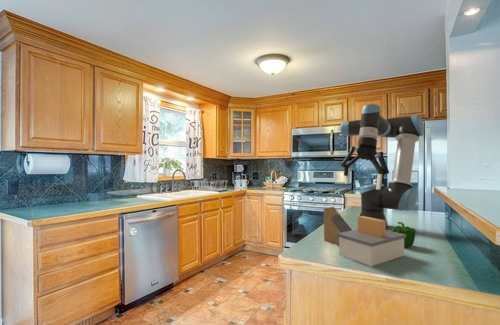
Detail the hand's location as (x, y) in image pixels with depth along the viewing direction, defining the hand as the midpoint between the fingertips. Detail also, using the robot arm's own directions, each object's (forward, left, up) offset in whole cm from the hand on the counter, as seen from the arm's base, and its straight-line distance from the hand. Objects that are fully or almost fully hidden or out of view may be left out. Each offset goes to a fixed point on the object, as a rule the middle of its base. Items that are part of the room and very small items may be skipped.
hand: (362, 186), depth 115 cm
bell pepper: (-16, +8, -26) cm, 32 cm away
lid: (+6, +8, -20) cm, 22 cm away
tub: (+6, +8, -26) cm, 28 cm away
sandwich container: (+2, -8, -26) cm, 27 cm away
